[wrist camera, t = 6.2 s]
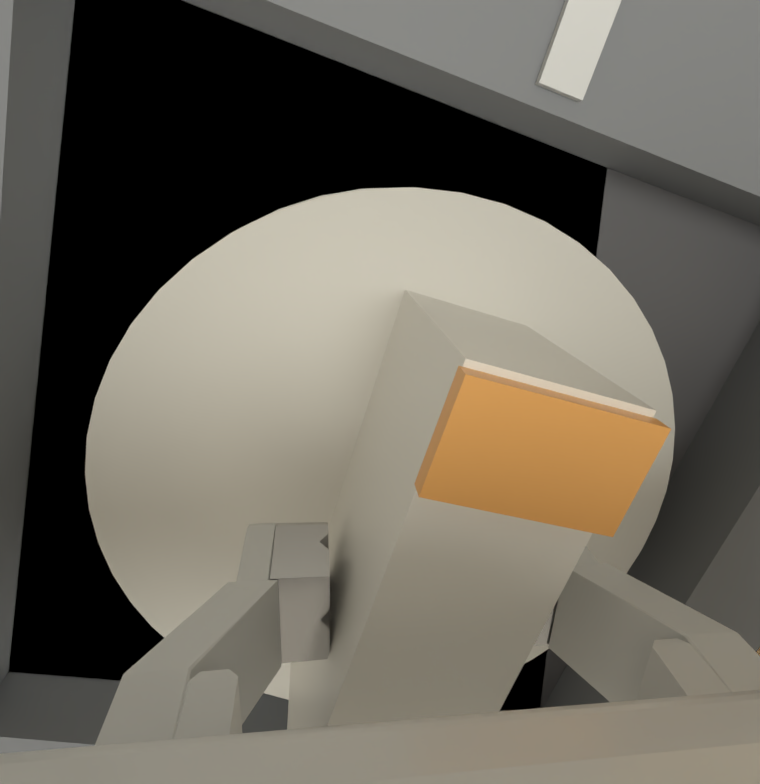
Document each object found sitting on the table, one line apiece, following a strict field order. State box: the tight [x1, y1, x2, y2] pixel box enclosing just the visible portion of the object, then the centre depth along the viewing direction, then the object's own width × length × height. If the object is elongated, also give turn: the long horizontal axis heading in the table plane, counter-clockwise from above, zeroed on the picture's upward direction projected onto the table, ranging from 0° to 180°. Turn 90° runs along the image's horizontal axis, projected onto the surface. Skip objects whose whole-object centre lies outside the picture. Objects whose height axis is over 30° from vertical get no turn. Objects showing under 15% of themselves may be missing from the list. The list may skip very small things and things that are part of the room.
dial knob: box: [85, 187, 675, 729], centre depth 10 cm, size 13×13×6 cm
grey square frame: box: [0, 0, 760, 754], centre depth 12 cm, size 22×22×3 cm
